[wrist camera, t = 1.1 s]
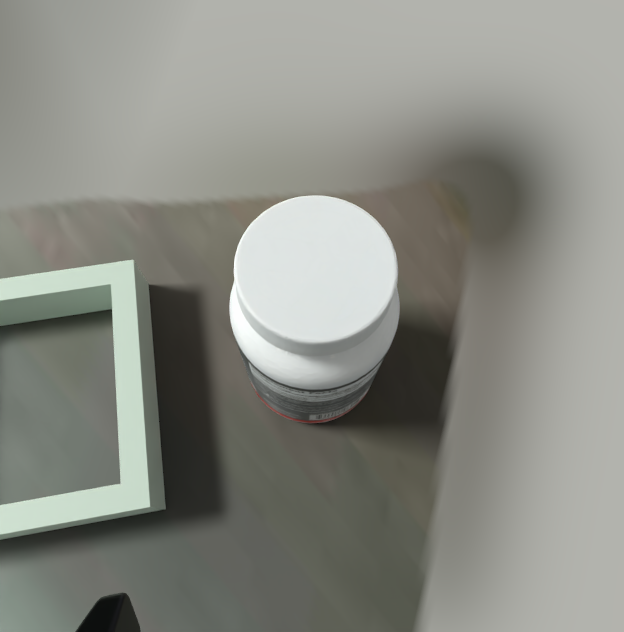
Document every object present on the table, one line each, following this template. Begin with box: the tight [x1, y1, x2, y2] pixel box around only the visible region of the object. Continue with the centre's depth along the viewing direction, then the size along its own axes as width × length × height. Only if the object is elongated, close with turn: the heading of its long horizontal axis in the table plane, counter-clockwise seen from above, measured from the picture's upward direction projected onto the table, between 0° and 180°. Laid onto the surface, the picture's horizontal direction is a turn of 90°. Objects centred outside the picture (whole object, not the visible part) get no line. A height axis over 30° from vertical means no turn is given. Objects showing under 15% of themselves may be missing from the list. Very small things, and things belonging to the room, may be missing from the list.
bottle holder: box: [0, 260, 166, 540], centre depth 22 cm, size 10×10×2 cm
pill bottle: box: [230, 196, 400, 423], centre depth 20 cm, size 6×6×10 cm
